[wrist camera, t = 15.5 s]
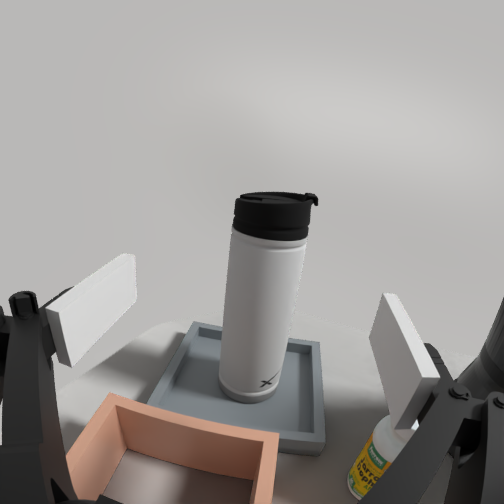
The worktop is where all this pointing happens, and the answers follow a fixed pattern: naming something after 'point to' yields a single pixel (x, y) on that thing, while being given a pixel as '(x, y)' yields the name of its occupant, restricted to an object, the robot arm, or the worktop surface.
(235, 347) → the travel mug
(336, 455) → the worktop surface
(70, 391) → the worktop surface
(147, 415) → the square planter box
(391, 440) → the supplement bottle
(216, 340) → the grey tray
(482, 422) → the robot arm
